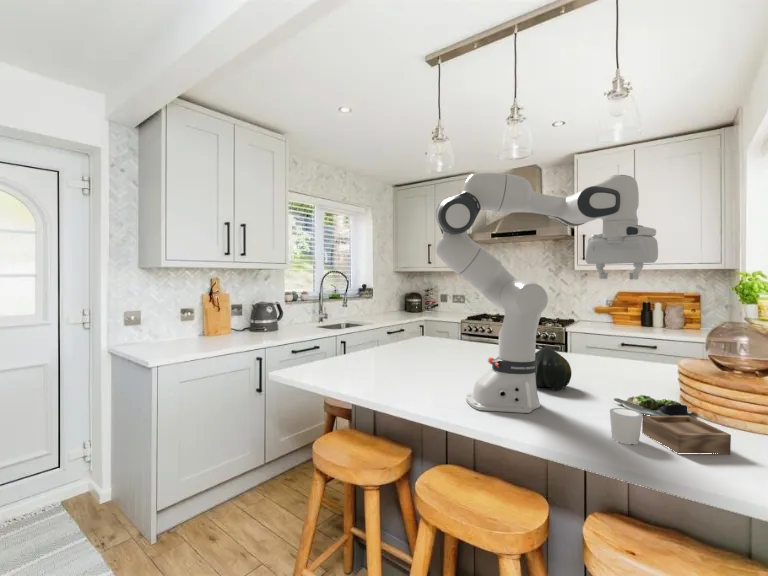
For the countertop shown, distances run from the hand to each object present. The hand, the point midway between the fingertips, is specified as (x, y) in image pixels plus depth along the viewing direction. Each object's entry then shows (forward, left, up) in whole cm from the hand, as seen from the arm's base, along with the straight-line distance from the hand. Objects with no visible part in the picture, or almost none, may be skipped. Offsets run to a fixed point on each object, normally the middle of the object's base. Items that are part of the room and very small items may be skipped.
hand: (618, 279), depth 115 cm
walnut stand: (+3, -22, -39) cm, 45 cm away
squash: (-9, +26, -40) cm, 48 cm away
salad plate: (+13, 0, -40) cm, 42 cm away
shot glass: (-10, -20, -40) cm, 45 cm away
